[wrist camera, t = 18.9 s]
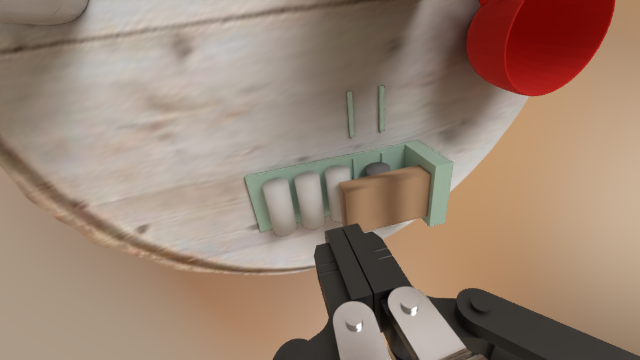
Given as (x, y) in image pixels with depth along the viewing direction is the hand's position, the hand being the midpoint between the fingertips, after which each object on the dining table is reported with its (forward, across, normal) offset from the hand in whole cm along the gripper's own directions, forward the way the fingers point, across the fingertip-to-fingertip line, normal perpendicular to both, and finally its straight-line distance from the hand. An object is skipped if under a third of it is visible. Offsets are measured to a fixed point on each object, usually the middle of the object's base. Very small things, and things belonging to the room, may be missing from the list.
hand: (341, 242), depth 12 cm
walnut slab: (+22, -11, +14) cm, 29 cm away
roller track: (+27, -7, +14) cm, 31 cm away
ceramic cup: (+27, -28, -6) cm, 39 cm away
